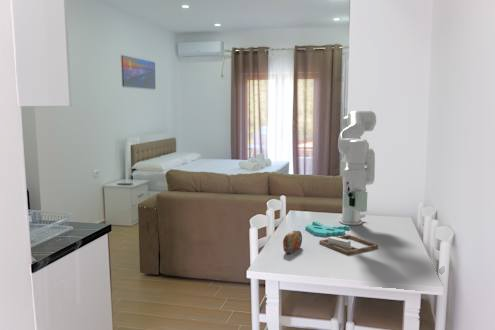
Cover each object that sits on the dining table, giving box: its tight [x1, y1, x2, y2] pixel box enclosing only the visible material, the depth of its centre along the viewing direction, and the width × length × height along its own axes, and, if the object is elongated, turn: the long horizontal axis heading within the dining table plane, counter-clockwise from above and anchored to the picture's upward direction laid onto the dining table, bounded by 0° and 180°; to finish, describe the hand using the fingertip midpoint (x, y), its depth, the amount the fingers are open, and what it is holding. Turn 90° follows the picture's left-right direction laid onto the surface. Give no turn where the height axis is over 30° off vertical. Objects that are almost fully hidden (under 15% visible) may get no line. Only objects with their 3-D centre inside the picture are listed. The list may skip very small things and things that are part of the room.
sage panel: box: [342, 190, 368, 213], centre depth 202 cm, size 3×12×9 cm, turn 31°
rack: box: [318, 234, 379, 256], centre depth 203 cm, size 19×19×2 cm
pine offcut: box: [329, 243, 352, 251], centre depth 200 cm, size 3×12×2 cm, turn 36°
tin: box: [282, 230, 303, 254], centre depth 196 cm, size 15×3×8 cm, turn 148°
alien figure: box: [304, 220, 350, 238], centre depth 227 cm, size 20×2×20 cm
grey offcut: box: [327, 236, 352, 247], centre depth 200 cm, size 3×10×2 cm, turn 49°
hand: (354, 205), depth 202 cm, fingers closed on sage panel, 3 cm apart
